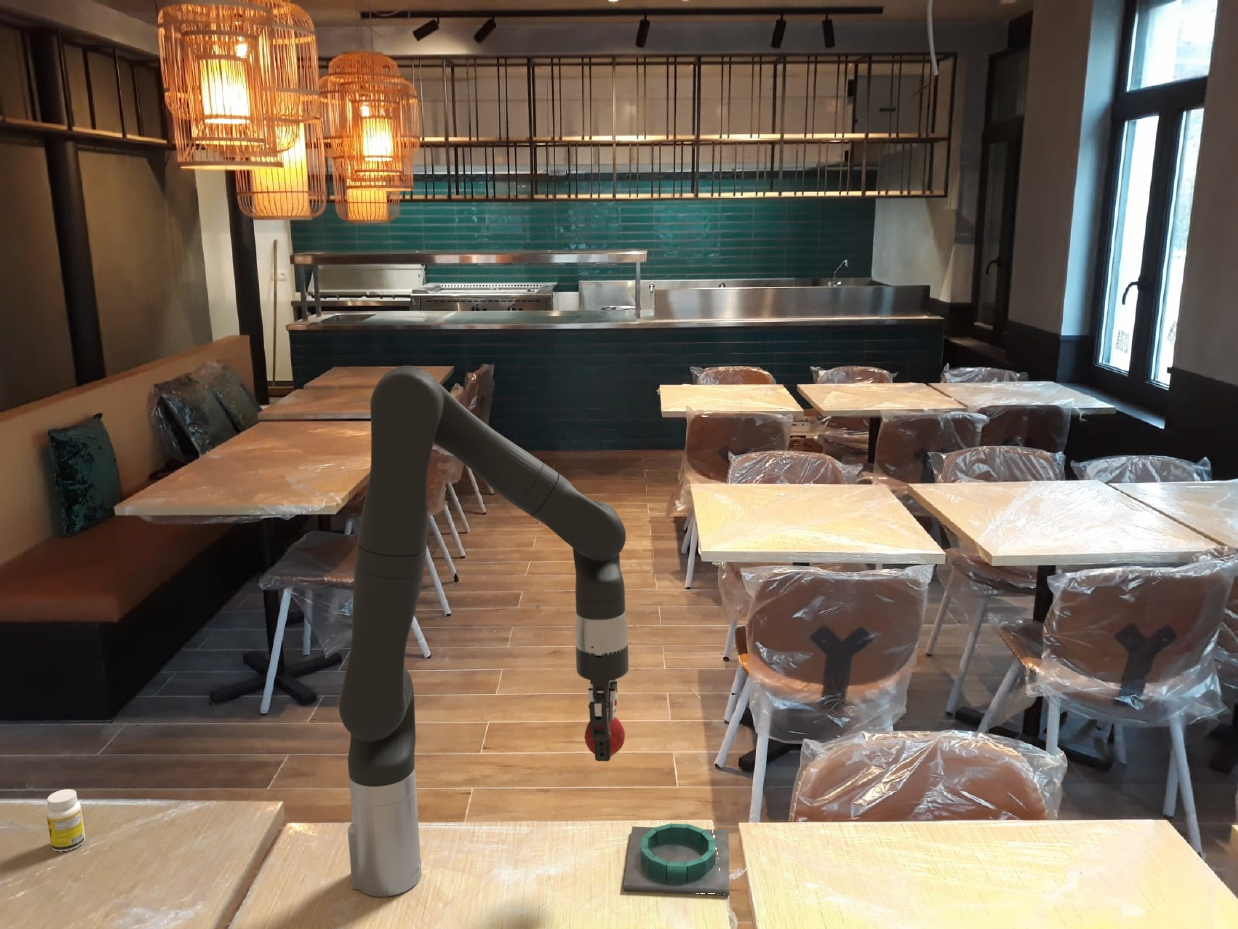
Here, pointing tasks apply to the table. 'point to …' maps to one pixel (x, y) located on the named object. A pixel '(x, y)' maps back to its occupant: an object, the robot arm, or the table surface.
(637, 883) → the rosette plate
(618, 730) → the onion
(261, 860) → the table surface
